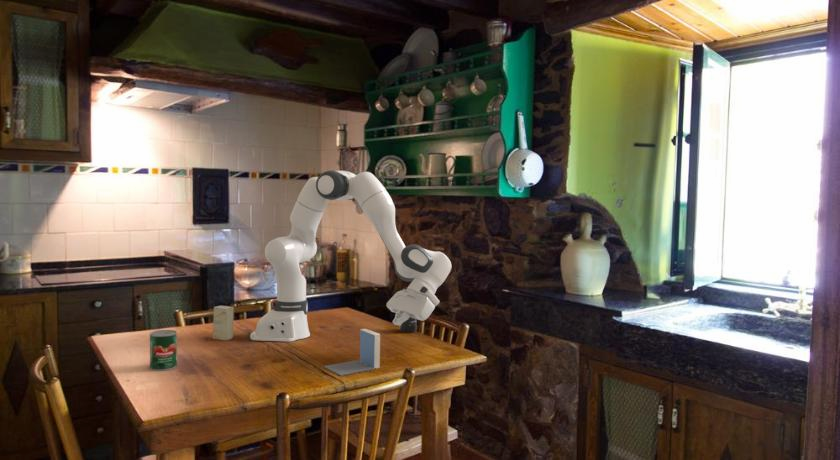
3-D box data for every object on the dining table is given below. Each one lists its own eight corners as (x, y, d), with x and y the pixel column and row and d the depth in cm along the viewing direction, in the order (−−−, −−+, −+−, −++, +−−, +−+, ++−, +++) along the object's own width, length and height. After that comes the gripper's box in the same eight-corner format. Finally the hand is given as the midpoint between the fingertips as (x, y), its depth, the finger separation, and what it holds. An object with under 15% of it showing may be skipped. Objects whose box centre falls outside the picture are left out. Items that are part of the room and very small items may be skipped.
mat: (340, 376, 184) (340, 374, 183) (323, 367, 192) (323, 366, 192) (374, 369, 191) (374, 368, 191) (356, 361, 199) (356, 360, 199)
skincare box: (212, 339, 226) (212, 307, 225) (220, 336, 230) (220, 305, 229) (226, 340, 223) (226, 308, 223) (234, 338, 227) (234, 306, 227)
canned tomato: (160, 372, 184) (159, 337, 183) (144, 367, 188) (144, 333, 188) (182, 366, 191) (182, 332, 190) (166, 362, 195) (166, 328, 194)
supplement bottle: (414, 333, 240) (415, 304, 239) (397, 332, 241) (398, 303, 240) (417, 329, 246) (418, 301, 246) (401, 328, 248) (402, 300, 247)
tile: (374, 368, 192) (374, 334, 191) (359, 362, 199) (360, 329, 198) (379, 367, 193) (380, 334, 192) (365, 361, 200) (365, 328, 200)
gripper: (397, 282, 213) (373, 312, 208) (432, 290, 197) (408, 323, 192) (407, 294, 216) (384, 324, 211) (442, 303, 200) (418, 335, 195)
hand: (395, 324), depth 201 cm, fingers closed
